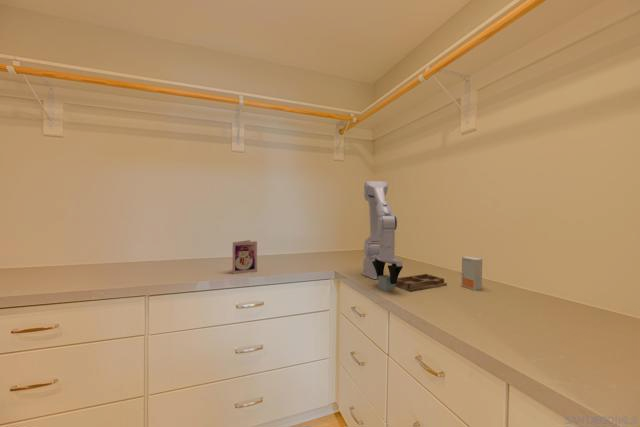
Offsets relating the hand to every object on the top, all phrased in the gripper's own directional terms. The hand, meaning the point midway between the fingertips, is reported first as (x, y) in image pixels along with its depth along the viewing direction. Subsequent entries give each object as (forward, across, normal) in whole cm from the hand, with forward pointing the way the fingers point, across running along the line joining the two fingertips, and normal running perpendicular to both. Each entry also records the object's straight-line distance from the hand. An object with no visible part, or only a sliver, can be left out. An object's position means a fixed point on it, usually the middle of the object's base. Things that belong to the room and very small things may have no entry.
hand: (386, 281), depth 101 cm
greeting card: (+3, -52, -45) cm, 69 cm away
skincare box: (+3, +13, +32) cm, 35 cm away
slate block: (+3, 0, 0) cm, 3 cm away
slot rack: (+3, +1, +16) cm, 16 cm away
